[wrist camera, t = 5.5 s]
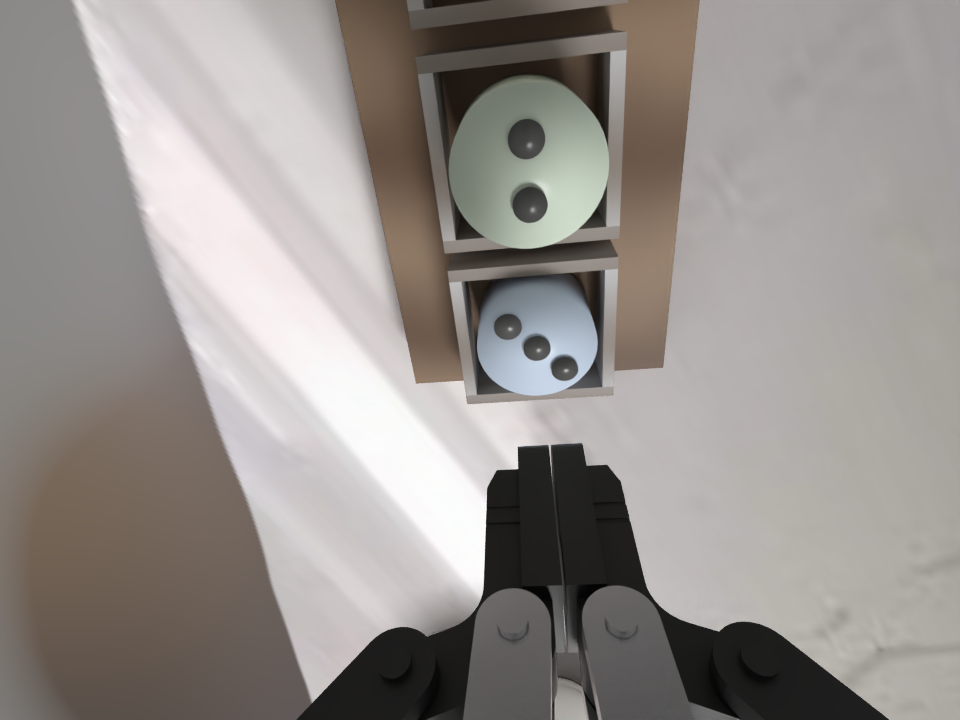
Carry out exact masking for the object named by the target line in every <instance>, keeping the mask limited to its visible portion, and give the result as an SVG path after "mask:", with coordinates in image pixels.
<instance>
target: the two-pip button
mask: <svg viewBox="0 0 960 720" xmlns="http://www.w3.org/2000/svg"><path fill="white" fill-rule="evenodd" d="M608 173H609V152H608V146H607V141H606V138H605V135H604V132H603V130H602V128H601V126H600V124H599V122H598V120H597V119H596V117H595V116H594V114H593V113H592V112H591V110H590V109H589V108H588V107H587V106H586V105H585V104H584V103H583V101H582V100H581V99H580V98H579V97H578V96H577V95H576V94H575V93H574V92H573V91H572V90H571V89H570V88H569V87H567V86H566V85H564V84H563V83H561V82H560V81H558V80H556V79H553V78H551V77H548V76H544V75H541V74H532V73H526V74H516V75H511V76H508V77H505V78H502V79H500V80H498V81H496V82H494V83H493V84H491V85H490V86H488V87H487V88H485V89H484V90H483V91H482V92H481V93H480V94H479V95H478V96H477V97H476V98H475V99H474V100H473V102H472V103H471V104H470V106H469V107H468V109H467V111H466V112H465V115H464V117H463V119H462V121H461V123H460V126H459V128H458V131H457V133H456V136H455V138H454V141H453V144H452V148H451V152H450V158H449V181H450V186H451V191H452V194H453V197H454V200H455V202H456V204H457V206H458V209H459V210H460V212H461V213H462V215H463V217H464V218H465V219H466V220H467V222H468V223H469V224H470V225H471V226H472V227H473V228H474V229H475V230H476V231H477V232H479V233H480V234H481V235H483V236H484V237H486V238H487V239H489V240H491V241H493V242H495V243H498V244H501V245H503V246H507V247H512V248H520V249H533V248H539V247H544V246H548V245H551V244H554V243H556V242H559V241H561V240H563V239H565V238H566V237H568V236H570V235H571V234H573V233H574V232H575V231H577V230H578V229H579V228H580V227H581V226H582V225H583V224H584V223H585V222H586V221H587V220H588V219H589V218H590V216H591V215H592V214H593V212H594V211H595V209H596V208H597V206H598V204H599V202H600V200H601V198H602V196H603V193H604V190H605V188H606V184H607V179H608Z"/></svg>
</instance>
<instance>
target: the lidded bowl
mask: <svg viewBox="0 0 960 720" xmlns="http://www.w3.org/2000/svg"><path fill="white" fill-rule="evenodd" d="M555 720H586V714H585V709H584V703H583V698H582V686H581V685H579V684H578V683H576V682H574V681H571V680H568V679H565V678H561V677H558V690H557V695H556V698H555Z"/></svg>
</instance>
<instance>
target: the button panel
mask: <svg viewBox="0 0 960 720" xmlns="http://www.w3.org/2000/svg"><path fill="white" fill-rule="evenodd" d="M335 2H336V6H337V11H338V16H339V21H340V25H341V30H342V35H343V40H344V44H345V49H346V54H347V58H348V63H349V68H350V73H351V77H352V82H353V87H354V92H355V96H356V101H357V106H358V110H359V115H360V120H361V125H362V129H363V134H364V139H365V144H366V148H367V153H368V158H369V163H370V167H371V172H372V177H373V181H374V186H375V191H376V196H377V200H378V205H379V210H380V215H381V219H382V224H383V229H384V233H385V238H386V243H387V248H388V252H389V257H390V262H391V267H392V271H393V276H394V281H395V286H396V290H397V295H398V300H399V304H400V309H401V314H402V319H403V323H404V328H405V333H406V338H407V342H408V347H409V352H410V357H411V361H412V366H413V371H414V375H415V380H416V383H431V382H447V381H462V380H464V385H465V391H466V398H467V404H478V403H494V402H511V401H527V400H544V399H560V398H577V397H593V396H610V395H613V388H614V371H617V370H632V369H648V368H663V363H664V353H665V343H666V333H667V323H668V312H669V302H670V292H671V282H672V272H673V262H674V252H675V242H676V232H677V221H678V211H679V201H680V191H681V181H682V171H683V161H684V151H685V141H686V130H687V120H688V110H689V100H690V90H691V80H692V70H693V60H694V50H695V40H696V29H697V19H698V9H699V0H335ZM526 73H532V74H541V75H544V76H548V77H551V78H553V79H556V80H558V81H560V82H561V83H563V84H564V85H566V86H567V87H569V88H570V89H571V90H572V91H573V92H574V93H575V94H576V95H577V96H578V97H579V98H580V99H581V100H582V101H583V103H584V104H585V105H586V106H587V107H588V108H589V109H590V110H591V112H592V113H593V114H594V116H595V117H596V119H597V120H598V122H599V124H600V126H601V128H602V130H603V132H604V135H605V138H606V141H607V146H608V152H609V173H608V179H607V184H606V188H605V190H604V193H603V196H602V198H601V200H600V202H599V204H598V206H597V208H596V209H595V211H594V212H593V214H592V215H591V216H590V218H589V219H588V220H587V221H586V222H585V223H584V224H583V225H582V226H581V227H580V228H579V229H578V230H577V231H575V232H574V233H573V234H571V235H570V236H568V237H566V238H565V239H563V240H561V241H559V242H556V243H554V244H551V245H548V246H544V247H539V248H533V249H520V248H512V247H507V246H503V245H501V244H498V243H495V242H493V241H491V240H489V239H487V238H486V237H484V236H483V235H481V234H480V233H479V232H477V231H476V230H475V229H474V228H473V227H472V226H471V225H470V224H469V223H468V222H467V220H466V219H465V218H464V217H463V215H462V213H461V212H460V210H459V209H458V206H457V204H456V202H455V200H454V197H453V194H452V191H451V186H450V181H449V158H450V152H451V148H452V144H453V141H454V138H455V136H456V133H457V131H458V128H459V126H460V123H461V121H462V119H463V117H464V115H465V112H466V111H467V109H468V107H469V106H470V104H471V103H472V102H473V100H474V99H475V98H476V97H477V96H478V95H479V94H480V93H481V92H482V91H483V90H484V89H485V88H487V87H488V86H490V85H491V84H493V83H494V82H496V81H498V80H500V79H502V78H505V77H508V76H511V75H516V74H526ZM561 273H570V274H571V275H572V276H574V277H575V278H576V279H577V281H578V282H579V283H580V285H581V286H582V288H583V290H584V292H585V295H586V298H587V302H588V305H589V308H590V312H591V315H592V319H593V322H594V326H595V329H596V333H597V340H598V345H597V352H596V356H595V359H594V361H593V364H592V365H591V367H590V369H589V370H588V371H587V373H586V374H585V375H584V376H583V377H582V378H581V379H580V380H579V381H577V382H576V383H575V384H573V385H572V386H570V387H568V388H566V389H564V390H562V391H559V392H556V393H552V394H548V395H540V396H531V395H523V394H518V393H515V392H512V391H509V390H507V389H505V388H503V387H501V386H500V385H498V384H497V383H496V382H494V381H493V380H492V379H491V378H490V377H489V376H488V375H487V373H486V372H485V371H484V369H483V367H482V365H481V363H480V361H479V358H478V353H477V339H478V327H479V315H480V304H481V300H482V297H483V294H484V292H485V290H486V289H487V287H488V285H489V284H490V283H491V282H492V280H493V279H500V278H512V277H525V276H537V275H549V274H561Z"/></svg>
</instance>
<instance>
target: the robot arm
mask: <svg viewBox="0 0 960 720" xmlns="http://www.w3.org/2000/svg"><path fill="white" fill-rule="evenodd" d="M551 462H552V475H551V465H550V455H549V446H548V445H542V446H523V447H518V469H515V470H497V471H496V473H495V475H494V477H493V478H492V480H491V482H490V484H489V486H488V488H487V513H486V541H485V569H484V590H483V595H482V598H481V601H480V603H479V605H478V607H477V608H476V610H475V611H474V612H473V613H472V614H471V616H470V617H468V618H467V619H466V620H465V621H463V622H462V623H460V624H459V625H457V626H455V627H452V628H450V629H447V630H444V631H442V632H439V633H436V634H434V635H431V636H428V637H426V636H425V635H424V634H423V633H421V632H420V631H418V630H416V629H413V628H408V627H399V628H393V629H390V630H387V631H385V632H383V633H381V634H380V635H379V636H377V637H376V638H375V639H374V640H372V641H371V642H370V643H369V644H368V645H367V646H366V648H365V649H364V650H363V651H362V652H361V653H360V654H359V655H358V656H357V657H356V658H355V659H354V660H353V661H352V662H351V663H350V664H349V665H348V666H347V667H346V668H345V669H344V671H343V672H342V673H341V674H340V675H339V676H338V677H337V678H336V679H335V680H334V681H333V682H332V683H331V684H330V685H329V686H328V687H327V688H326V689H325V690H324V691H323V692H322V694H321V695H320V696H319V697H318V698H317V699H316V700H315V701H314V702H313V703H312V704H311V705H310V706H309V707H308V708H307V709H306V710H305V711H304V712H303V713H302V715H301V716H300V717H299V718H298V719H297V720H555V698H556V695H557V690H558V676H557V656H556V653H565V646H564V616H565V627H566V637H567V647H568V653H578V652H579V659H580V668H581V676H582V698H583V703H584V709H585V714H586V720H889V719H888V718H886V717H885V716H884V715H882V714H881V713H880V712H879V711H877V710H876V709H875V708H873V707H872V706H871V705H870V704H868V703H867V702H866V701H864V700H863V699H862V698H861V697H859V696H858V695H857V694H856V693H854V692H853V691H852V690H850V689H849V688H848V687H847V686H845V685H844V684H843V683H841V682H840V681H839V680H838V679H836V678H835V677H834V676H832V675H831V674H830V673H829V672H827V671H826V670H825V669H823V668H822V667H821V666H820V665H818V664H817V663H816V662H815V661H813V660H812V659H811V658H809V657H808V656H807V655H806V654H804V653H803V652H802V651H800V650H799V649H798V648H797V647H795V646H794V645H793V644H791V643H790V642H789V641H788V640H786V639H785V638H784V637H782V636H781V635H780V634H778V633H777V632H775V631H773V630H772V629H770V628H768V627H765V626H763V625H760V624H756V623H752V622H736V623H732V624H729V625H727V626H725V627H724V628H723V629H722V630H720V632H718V631H715V630H711V629H708V628H704V627H701V626H698V625H694V624H691V623H688V622H685V621H682V620H680V619H678V618H676V617H674V616H672V615H670V614H669V613H667V612H666V611H665V610H664V609H662V608H661V607H660V606H659V605H658V604H657V603H656V602H655V600H654V599H653V598H652V596H651V595H650V593H649V591H648V589H647V587H646V583H645V580H644V576H643V572H642V568H641V564H640V560H639V555H638V551H637V547H636V543H635V539H634V535H633V531H632V527H631V523H630V520H629V514H628V510H627V506H626V504H625V498H624V494H623V490H622V486H621V482H620V480H619V479H618V478H617V477H616V475H615V474H614V473H613V472H612V470H611V469H610V468H609V467H608V465H595V466H586V461H585V455H584V450H583V445H582V443H578V444H559V445H551ZM563 606H564V616H563Z"/></svg>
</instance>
